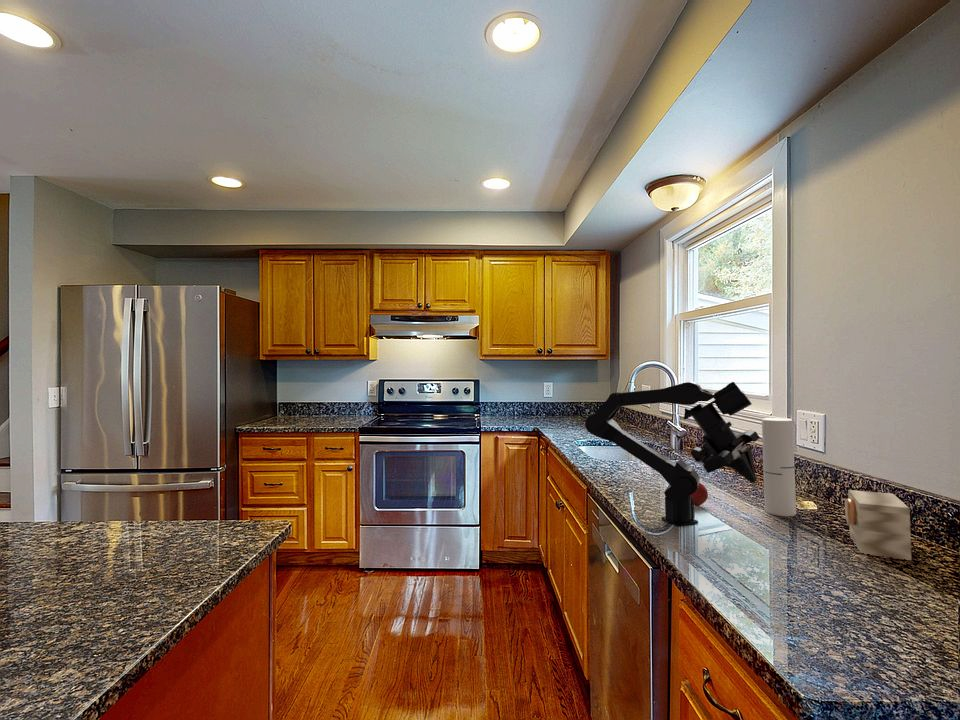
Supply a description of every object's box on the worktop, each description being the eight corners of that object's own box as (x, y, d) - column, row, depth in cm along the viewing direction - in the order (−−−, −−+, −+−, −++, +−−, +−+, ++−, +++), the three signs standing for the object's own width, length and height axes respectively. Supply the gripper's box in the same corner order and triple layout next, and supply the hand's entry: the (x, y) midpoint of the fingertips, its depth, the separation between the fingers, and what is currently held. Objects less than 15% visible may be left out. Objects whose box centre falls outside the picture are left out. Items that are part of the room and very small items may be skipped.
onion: (684, 508, 133) (684, 479, 133) (686, 502, 138) (685, 475, 138) (707, 510, 130) (706, 481, 130) (708, 505, 135) (707, 477, 135)
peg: (850, 528, 102) (849, 502, 102) (845, 520, 107) (844, 495, 107) (905, 534, 98) (904, 507, 98) (898, 526, 103) (897, 500, 103)
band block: (861, 553, 99) (859, 503, 99) (849, 535, 109) (848, 489, 109) (911, 560, 95) (909, 507, 95) (894, 540, 105) (892, 493, 106)
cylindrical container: (801, 516, 123) (797, 420, 124) (771, 515, 125) (767, 420, 125) (789, 508, 130) (785, 418, 131) (760, 507, 132) (757, 418, 132)
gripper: (706, 426, 129) (742, 476, 125) (670, 450, 118) (709, 507, 114) (739, 408, 121) (780, 462, 117) (705, 433, 110) (748, 494, 106)
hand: (754, 481), depth 113 cm, fingers closed
